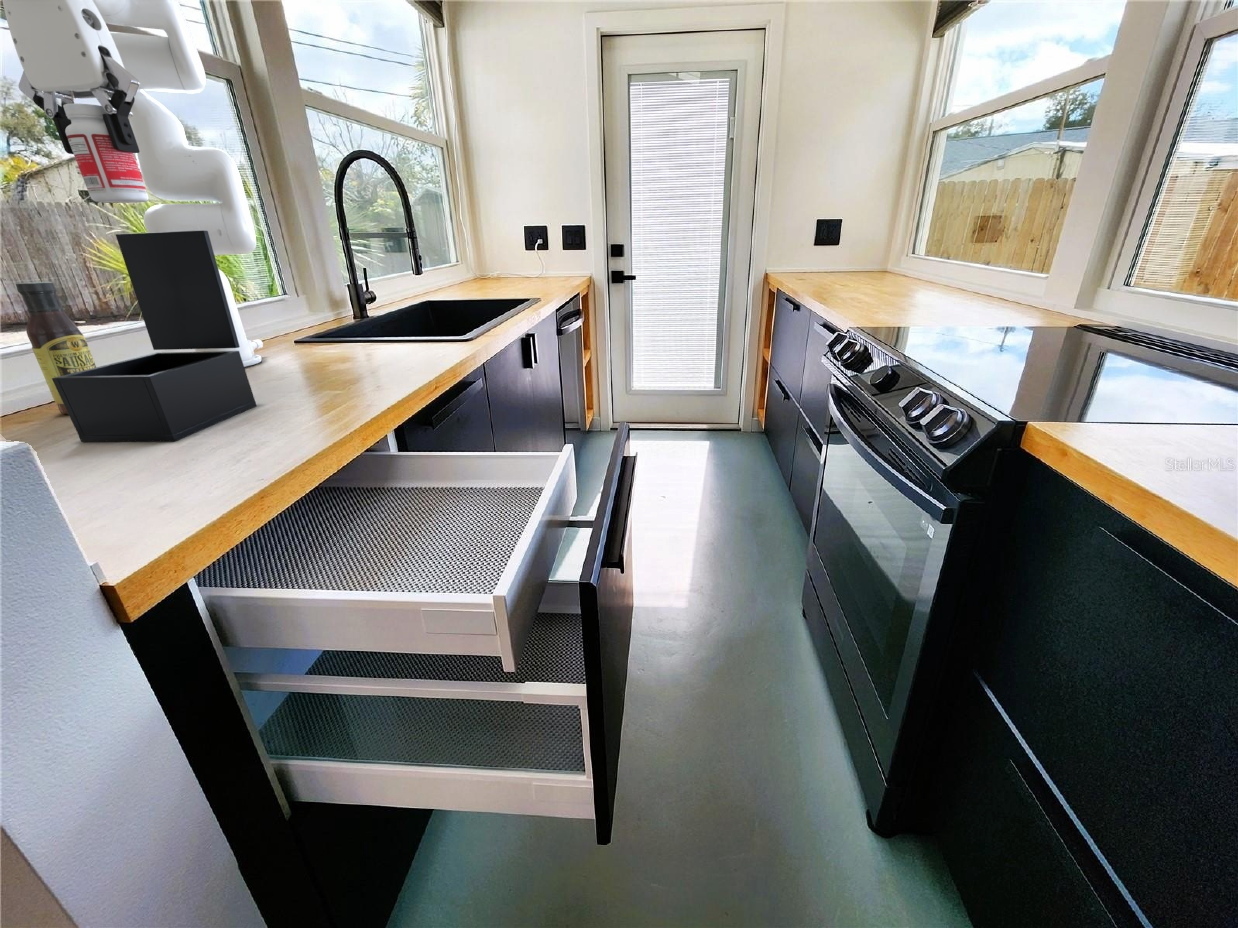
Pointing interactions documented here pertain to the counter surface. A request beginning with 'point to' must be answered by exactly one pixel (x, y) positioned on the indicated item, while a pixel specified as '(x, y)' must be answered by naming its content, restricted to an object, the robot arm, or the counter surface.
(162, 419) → the black storage box
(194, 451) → the counter surface
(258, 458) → the counter surface
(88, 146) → the pill bottle
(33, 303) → the sauce bottle
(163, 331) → the black box lid
